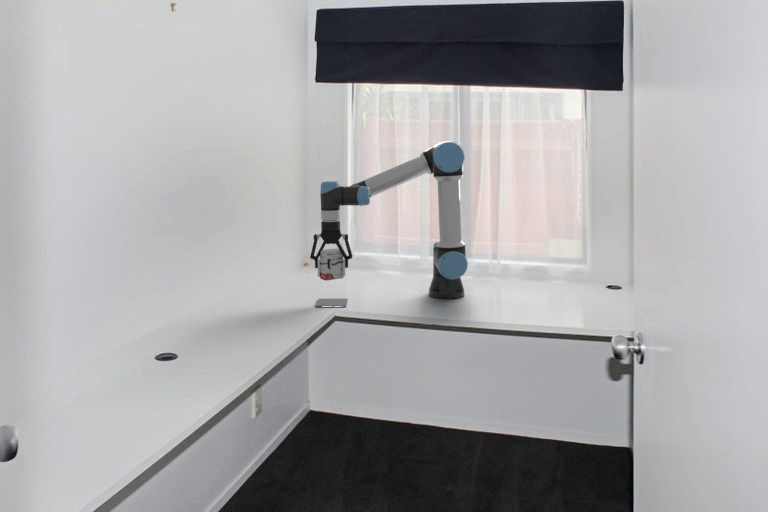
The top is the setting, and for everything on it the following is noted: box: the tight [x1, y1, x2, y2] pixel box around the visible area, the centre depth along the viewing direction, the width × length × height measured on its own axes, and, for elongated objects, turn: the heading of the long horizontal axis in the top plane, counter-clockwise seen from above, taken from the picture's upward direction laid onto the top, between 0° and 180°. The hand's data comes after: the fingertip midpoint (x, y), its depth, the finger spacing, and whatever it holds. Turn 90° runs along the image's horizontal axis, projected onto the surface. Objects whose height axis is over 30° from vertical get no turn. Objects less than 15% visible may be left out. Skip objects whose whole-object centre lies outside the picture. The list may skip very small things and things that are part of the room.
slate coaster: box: [315, 298, 349, 308], centre depth 249 cm, size 12×12×1 cm
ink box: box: [319, 247, 345, 282], centre depth 246 cm, size 8×5×12 cm, turn 123°
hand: (331, 275), depth 247 cm, fingers closed on ink box, 9 cm apart
